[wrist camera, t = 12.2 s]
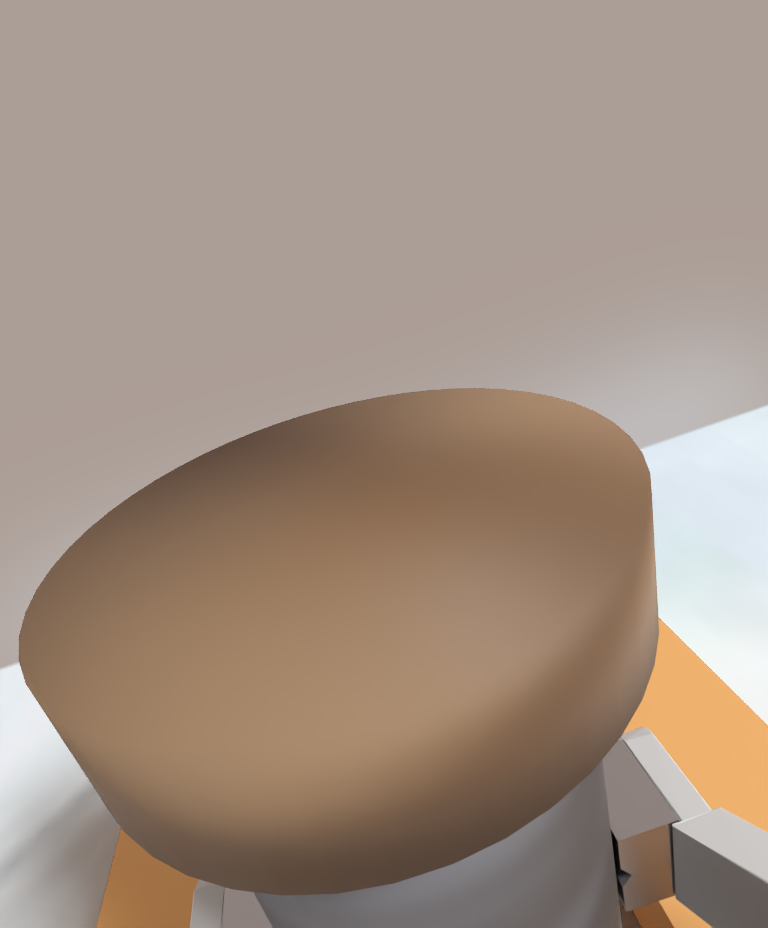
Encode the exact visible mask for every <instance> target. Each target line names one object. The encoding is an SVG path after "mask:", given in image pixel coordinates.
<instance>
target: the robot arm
mask: <svg viewBox="0 0 768 928" xmlns="http://www.w3.org/2000/svg"><path fill="white" fill-rule="evenodd" d="M602 761H603V769H604V778H605V786H606V795H607V803H608V812H609V820H610V829H611V837H612V845H613V854H614V862H615V871H616V879H617V888H618V896H619V900H620V902H621V904H622V906H623V908H624V910H625V911H626V912H627V911H630V910H633V909H636V908H639V907H642V906H645V905H648V904H651V903H654V902H657V901H660V900H663V899H666V898H669V897H672V896H675V895H676V899H677V900H678V901H679V902H681V903H682V904H683V905H684V906H686V907H687V908H688V909H690V910H691V911H692V912H693V913H695V914H696V915H697V916H699V917H700V918H701V919H702V920H704V921H705V922H706V923H708V924H709V925H710V926H711V927H713V928H768V833H767V832H766V831H764V830H762V829H760V828H758V827H756V826H754V825H753V824H751V823H749V822H747V821H745V820H743V819H741V818H740V817H738V816H736V815H734V814H732V813H730V812H728V811H726V810H725V809H723V808H721V807H719V808H716V809H711V808H710V807H709V805H708V804H707V803H706V802H705V800H704V799H703V798H702V796H701V795H700V794H699V793H698V791H697V790H696V789H695V787H694V786H693V785H692V783H691V782H690V781H689V780H688V778H687V777H686V776H685V774H684V773H683V772H682V771H681V769H680V768H679V767H678V765H677V764H676V763H675V761H674V760H673V759H672V758H671V756H670V755H669V754H668V752H667V751H666V750H665V748H664V747H663V746H662V745H661V743H660V742H659V741H658V739H657V738H656V737H655V736H654V734H653V733H652V732H651V731H650V730H649V729H647V728H646V727H639V728H637V729H634V730H631V731H629V732H626V733H623V734H622V736H621V737H620V739H619V740H618V741H617V742H616V743H615V745H614V746H613V747H612V748H611V750H610V751H609V752H608V753H607V754H606V756H605V757H604V758H603V759H602ZM190 928H273V927H272V925H271V923H270V922H269V920H268V918H267V916H266V914H265V912H264V911H263V909H262V907H261V905H260V903H259V902H258V900H257V898H256V896H255V894H254V892H249V891H241V890H233V889H228V888H225V887H222V886H219V885H216V884H212V883H209V882H206V881H203V880H198V883H197V885H196V888H195V891H194V895H193V903H192V912H191V920H190Z"/></svg>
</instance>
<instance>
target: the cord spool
mask: <svg viewBox="0 0 768 928" xmlns="http://www.w3.org/2000/svg"><path fill="white" fill-rule="evenodd" d="M658 637H659V622H658V604H657V585H656V566H655V548H654V529H653V510H652V493H651V479H650V472H649V469H648V467H647V464H646V461H645V459H644V456H643V454H642V452H641V451H640V449H639V448H638V447H637V445H636V444H635V442H634V441H633V440H632V438H631V437H630V436H629V435H628V434H627V433H625V432H624V431H623V430H622V429H621V428H620V427H619V426H617V425H616V424H615V423H614V422H612V421H610V420H609V419H607V418H605V417H604V416H602V415H600V414H598V413H597V412H595V411H593V410H590V409H588V408H585V407H583V406H581V405H578V404H576V403H573V402H569V401H566V400H562V399H559V398H555V397H551V396H546V395H541V394H536V393H531V392H522V391H514V390H505V389H484V388H483V389H482V388H470V389H468V388H467V389H442V390H429V391H420V392H411V393H402V394H396V395H389V396H383V397H377V398H372V399H367V400H363V401H357V402H352V403H348V404H344V405H340V406H336V407H331V408H328V409H324V410H321V411H317V412H313V413H310V414H307V415H303V416H300V417H297V418H293V419H291V420H288V421H284V422H281V423H278V424H275V425H273V426H270V427H267V428H264V429H262V430H259V431H256V432H253V433H251V434H249V435H246V436H244V437H241V438H239V439H236V440H234V441H232V442H229V443H227V444H225V445H223V446H220V447H218V448H216V449H214V450H212V451H209V452H207V453H205V454H203V455H201V456H199V457H197V458H195V459H193V460H191V461H190V462H187V463H185V464H184V465H182V466H180V467H178V468H177V469H174V470H173V471H171V472H169V473H167V474H166V475H164V476H162V477H160V478H159V479H157V480H155V481H154V482H152V483H151V484H149V485H148V486H146V487H144V488H143V489H141V490H140V491H138V492H137V493H135V494H133V495H132V496H131V497H129V498H128V499H126V500H125V501H124V502H122V503H121V504H119V505H118V506H117V507H115V508H114V509H113V510H111V511H110V512H109V513H107V514H106V515H105V516H104V517H103V518H101V519H100V520H99V521H98V522H97V523H95V524H94V525H93V526H92V527H91V528H89V529H88V530H87V531H86V532H85V533H84V534H83V535H82V536H81V537H80V538H79V539H78V540H77V541H76V542H75V543H74V544H73V545H72V546H71V547H69V549H68V550H67V551H66V552H65V553H64V554H63V556H62V557H61V558H60V559H59V560H58V561H57V562H56V564H55V565H54V566H53V567H52V568H51V570H50V571H49V573H48V574H47V575H46V577H45V578H44V580H43V581H42V583H41V584H40V586H39V587H38V589H37V590H36V592H35V594H34V596H33V599H32V600H31V602H30V605H29V607H28V609H27V611H26V613H25V617H24V620H23V624H22V628H21V631H20V635H19V662H20V666H21V669H22V672H23V676H24V679H25V682H26V685H27V686H28V688H29V689H30V691H31V692H32V694H33V695H34V697H35V698H36V700H37V701H38V703H39V704H40V706H41V707H42V709H43V710H44V712H45V714H46V715H47V717H48V718H49V720H50V721H51V723H52V724H53V726H54V727H55V729H56V730H57V732H58V733H59V735H60V736H61V738H62V739H63V741H64V742H65V744H66V746H67V747H68V749H69V750H70V752H71V753H72V755H73V756H74V758H75V759H76V761H77V762H78V764H79V765H80V767H81V768H82V770H83V771H84V773H85V775H86V776H87V778H88V779H89V781H90V782H91V784H92V785H93V787H94V788H95V790H96V791H97V793H98V794H99V796H100V797H101V799H102V800H103V802H104V804H105V805H106V807H107V808H108V809H109V811H110V812H111V814H112V815H113V816H114V818H115V819H116V821H117V822H118V824H119V825H120V826H121V828H122V829H123V831H124V832H125V833H126V834H127V835H128V836H129V837H130V838H132V839H133V840H134V841H135V842H136V843H137V844H138V845H140V846H141V847H142V848H143V849H144V850H145V851H146V852H147V853H149V854H150V855H151V856H152V857H154V858H156V859H158V860H159V861H161V862H163V863H165V864H167V865H169V866H170V867H172V868H174V869H176V870H178V871H180V872H181V873H183V874H185V875H187V876H190V877H193V878H196V879H199V880H203V881H206V882H209V883H212V884H216V885H219V886H222V887H225V888H228V889H233V890H241V891H249V892H254V894H255V896H256V898H257V900H258V902H259V903H260V905H261V907H262V909H263V911H264V912H265V914H266V916H267V918H268V920H269V922H270V923H271V925H272V927H273V928H622V921H621V913H620V905H619V896H618V888H617V879H616V871H615V862H614V854H613V845H612V837H611V829H610V820H609V812H608V803H607V795H606V786H605V778H604V769H603V761H602V759H603V758H604V757H605V756H606V754H607V753H608V752H609V751H610V750H611V748H612V747H613V746H614V745H615V743H616V742H617V741H618V740H619V739H620V737H621V736H622V734H623V733H624V731H625V729H626V727H627V726H628V724H629V722H630V721H631V719H632V717H633V715H634V714H635V712H636V710H637V708H638V707H639V705H640V703H641V701H642V699H643V697H644V694H645V691H646V688H647V685H648V682H649V680H650V677H651V674H652V671H653V668H654V665H655V658H656V651H657V644H658Z"/></svg>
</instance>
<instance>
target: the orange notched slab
mask: <svg viewBox="0 0 768 928" xmlns="http://www.w3.org/2000/svg"><path fill="white" fill-rule="evenodd" d="M658 622H659V637H658V644H657V651H656V658H655V665H654V668H653V671H652V674H651V677H650V680H649V682H648V685H647V688H646V691H645V694H644V697H643V699H642V701H641V703H640V705H639V707H638V708H637V710H636V712H635V714H634V715H633V717H632V719H631V721H630V722H629V724H628V726H627V727H626V729H625V731H624V733H626V732H629V731H631V730H634V729H637V728H639V727H646V728H647V729H649V730H650V731H651V732H652V733H653V734H654V736H655V737H656V738H657V739H658V741H659V742H660V743H661V745H662V746H663V747H664V748H665V750H666V751H667V752H668V754H669V755H670V756H671V758H672V759H673V760H674V761H675V763H676V764H677V765H678V767H679V768H680V769H681V771H682V772H683V773H684V774H685V776H686V777H687V778H688V780H689V781H690V782H691V783H692V785H693V786H694V787H695V789H696V790H697V791H698V793H699V794H700V795H701V796H702V798H703V799H704V800H705V802H706V803H707V804H708V805H709V807H710V808H711V809H716V808H719V807H721V808H723V809H725V810H726V811H728V812H730V813H732V814H734V815H736V816H738V817H740V818H741V819H743V820H745V821H747V822H749V823H751V824H753V825H754V826H756V827H758V828H760V829H762V830H764V831H766V832H767V833H768V725H767V724H766V723H765V722H764V721H763V720H762V719H761V718H759V717H758V716H757V715H756V714H755V713H754V712H753V711H752V710H751V709H750V708H749V707H748V706H747V705H746V704H745V703H744V702H743V701H742V700H741V699H740V698H739V697H738V696H737V695H736V694H735V693H734V692H733V691H732V690H731V689H730V688H729V687H728V686H727V685H726V684H725V683H724V682H723V681H722V680H721V679H720V678H719V677H718V676H717V675H716V674H715V673H714V672H713V671H712V670H711V669H710V668H709V667H708V666H707V665H706V664H705V663H704V662H703V661H702V660H701V659H700V658H699V657H698V656H697V655H696V654H695V653H694V652H693V651H692V650H691V649H690V648H689V647H688V646H687V645H686V644H685V643H684V642H683V641H682V640H681V639H680V638H679V637H678V636H677V635H676V634H675V633H674V632H673V631H672V630H671V629H670V628H669V627H668V626H667V625H666V624H665V623H664V622H663V621H662V620H661V619H660V618H659V617H658ZM198 880H199V879H196V878H193V877H190V876H187V875H185V874H183V873H181V872H180V871H178V870H176V869H174V868H172V867H170V866H169V865H167V864H165V863H163V862H161V861H159V860H158V859H156V858H154V857H152V856H151V855H150V854H149V853H147V852H146V851H145V850H144V849H143V848H142V847H141V846H140V845H138V844H137V843H136V842H135V841H134V840H133V839H132V838H130V837H129V836H128V835H127V834H126V833H125V832H124V831H123V829H122V828H121V829H120V833H119V837H118V841H117V845H116V849H115V853H114V857H113V861H112V865H111V869H110V873H109V877H108V881H107V885H106V889H105V894H104V898H103V902H102V906H101V910H100V914H99V918H98V922H97V926H96V928H190V920H191V912H192V903H193V895H194V891H195V888H196V885H197V883H198ZM633 912H634V914H635V916H636V918H637V920H638V922H639V923H640V925H641V927H642V928H713V927H711V926H710V925H709V924H708V923H706V922H705V921H704V920H702V919H701V918H700V917H699V916H697V915H696V914H695V913H693V912H692V911H691V910H690V909H688V908H687V907H686V906H684V905H683V904H682V903H681V902H679V901H678V900H677V899H676V895H675V896H672V897H669V898H666V899H663V900H660V901H657V902H654V903H651V904H648V905H645V906H642V907H639V908H636V909H633Z"/></svg>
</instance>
